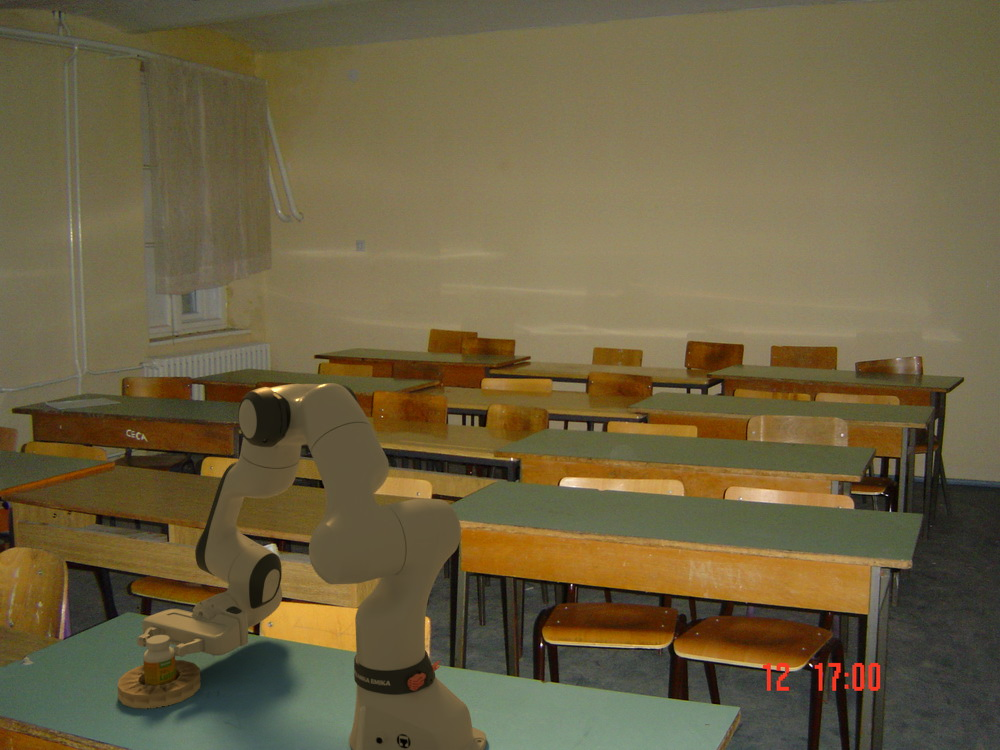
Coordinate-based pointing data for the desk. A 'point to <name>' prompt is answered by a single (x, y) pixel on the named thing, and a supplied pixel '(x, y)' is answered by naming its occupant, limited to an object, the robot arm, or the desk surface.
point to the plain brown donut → (158, 687)
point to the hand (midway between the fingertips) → (158, 647)
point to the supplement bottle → (159, 661)
